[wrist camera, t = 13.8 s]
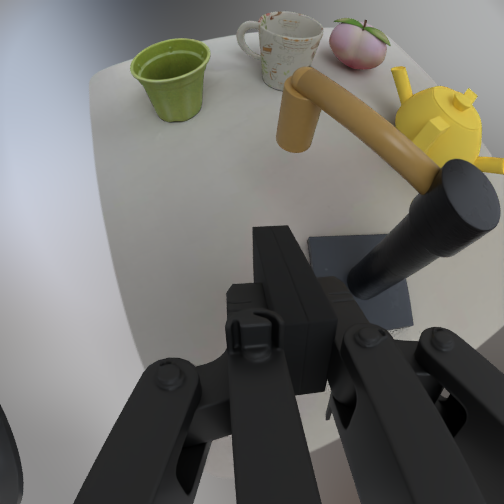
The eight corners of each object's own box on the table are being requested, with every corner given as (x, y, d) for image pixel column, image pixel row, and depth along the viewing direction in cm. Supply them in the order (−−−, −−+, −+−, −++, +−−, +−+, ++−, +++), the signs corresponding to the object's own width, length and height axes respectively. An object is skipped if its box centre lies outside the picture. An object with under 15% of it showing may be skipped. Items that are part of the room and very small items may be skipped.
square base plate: (318, 339, 28) (383, 315, 15) (307, 240, 32) (349, 156, 19) (409, 326, 29) (502, 293, 16) (392, 237, 32) (462, 166, 19)
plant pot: (174, 144, 35) (161, 91, 27) (132, 113, 37) (115, 65, 29) (228, 105, 38) (227, 53, 30) (182, 79, 40) (176, 31, 32)
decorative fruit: (380, 67, 44) (397, 23, 35) (373, 89, 41) (393, 40, 32) (330, 47, 45) (342, 2, 36) (318, 67, 42) (330, 16, 33)
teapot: (339, 127, 38) (363, 62, 27) (402, 89, 42) (427, 40, 32) (450, 237, 33) (506, 194, 22) (491, 173, 37) (530, 133, 27)
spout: (260, 142, 23) (269, 59, 16) (299, 118, 24) (316, 41, 17) (414, 289, 19) (487, 247, 12) (442, 249, 21) (507, 201, 13)
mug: (296, 104, 39) (307, 45, 29) (219, 74, 41) (217, 18, 31) (319, 77, 41) (332, 24, 32) (249, 50, 43) (251, 0, 34)
